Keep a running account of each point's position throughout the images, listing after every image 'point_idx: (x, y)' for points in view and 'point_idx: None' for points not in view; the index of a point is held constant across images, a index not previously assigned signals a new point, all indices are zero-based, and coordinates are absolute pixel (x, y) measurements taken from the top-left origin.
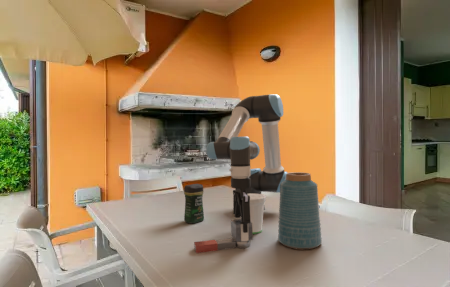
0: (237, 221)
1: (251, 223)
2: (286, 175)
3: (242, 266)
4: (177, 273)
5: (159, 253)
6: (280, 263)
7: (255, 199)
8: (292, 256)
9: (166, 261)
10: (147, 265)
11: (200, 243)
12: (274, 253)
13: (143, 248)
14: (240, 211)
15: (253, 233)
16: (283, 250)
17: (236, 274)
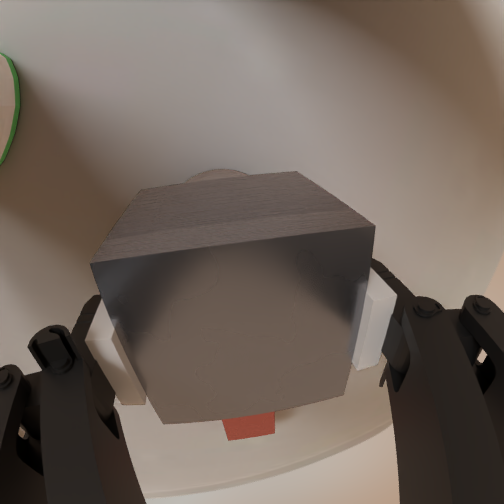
0: (237, 387)
1: (371, 235)
2: None
3: (443, 265)
4: (378, 413)
5: (242, 463)
6: (474, 109)
7: None
8: (436, 17)
9: (302, 446)
10: (307, 460)
11: (251, 426)
12: (396, 69)
13: (200, 481)
14: (405, 488)
15: (18, 110)
16: (369, 3)
17: (464, 289)
